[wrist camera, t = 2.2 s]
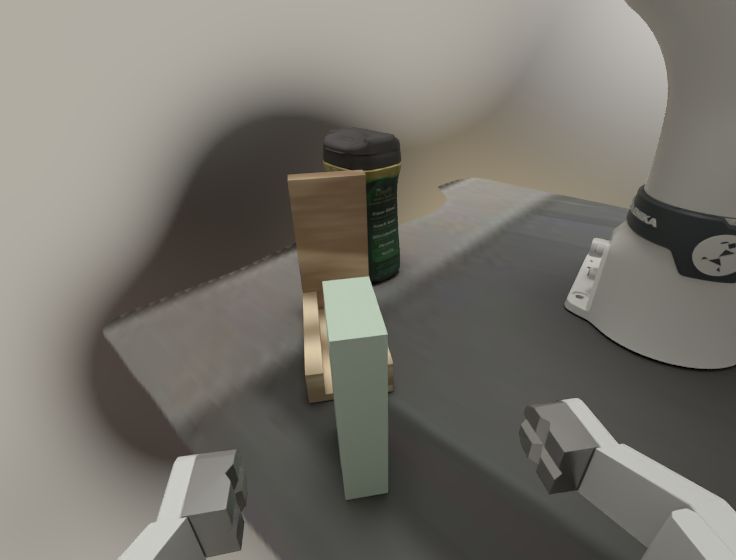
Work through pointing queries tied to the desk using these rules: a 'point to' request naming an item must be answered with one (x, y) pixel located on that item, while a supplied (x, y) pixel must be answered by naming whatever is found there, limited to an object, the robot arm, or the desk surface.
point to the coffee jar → (372, 189)
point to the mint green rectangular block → (359, 383)
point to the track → (327, 258)
